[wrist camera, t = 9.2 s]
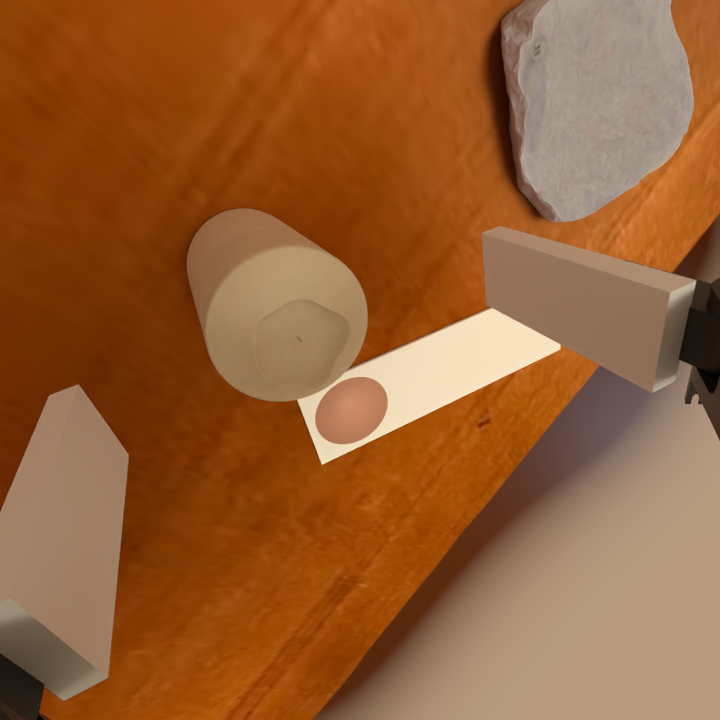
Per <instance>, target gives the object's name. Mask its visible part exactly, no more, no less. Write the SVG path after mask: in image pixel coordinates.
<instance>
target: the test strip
mask: <svg viewBox="0 0 720 720" xmlns="http://www.w3.org/2000/svg"><path fill="white" fill-rule="evenodd" d="M558 350H560V344H559V343H557V342H555V341H553V340H551V339H549V338H548V337H546V336H544V335H542V334H540V333H538V332H536V331H534V330H532V329H531V328H529V327H527V326H525V325H523V324H521V323H519V322H517V321H515V320H514V319H512V318H510V317H508V316H506V315H504V314H502V313H500V312H499V311H497V310H495V309H493V308H491V307H490V308H487V309H485V310H483V311H481V312H478V313H476V314H474V315H471V316H469V317H467V318H464V319H462V320H460V321H458V322H455V323H453V324H451V325H448V326H446V327H444V328H441V329H439V330H437V331H435V332H432V333H430V334H428V335H425V336H423V337H421V338H418V339H416V340H414V341H412V342H409V343H407V344H405V345H402V346H400V347H398V348H395V349H393V350H391V351H389V352H386V353H384V354H382V355H379V356H377V357H375V358H372V359H370V360H368V361H366V362H363V363H361V364H359V365H356V366H354V367H352V368H349V369H348V370H347V371H346V372H345V373H344V374H343V375H342V376H341V377H340V378H339V379H337V380H336V381H335V382H334V383H333V384H331V385H330V386H328V387H327V388H325V389H323V390H321V391H319V392H318V393H316V394H313V395H311V396H308V397H305V398H301V399H298V400H297V401H298V404H299V406H300V409H301V412H302V414H303V417H304V420H305V422H306V425H307V427H308V430H309V433H310V435H311V438H312V441H313V443H314V446H315V448H316V451H317V454H318V456H319V459H320V462H321V464H325V463H327V462H329V461H331V460H333V459H335V458H337V457H339V456H341V455H343V454H345V453H347V452H349V451H351V450H353V449H356V448H358V447H360V446H362V445H364V444H366V443H368V442H370V441H372V440H374V439H376V438H378V437H380V436H382V435H384V434H386V433H389V432H391V431H393V430H395V429H397V428H399V427H401V426H403V425H405V424H407V423H409V422H411V421H413V420H415V419H417V418H420V417H422V416H424V415H426V414H428V413H430V412H432V411H434V410H436V409H438V408H440V407H442V406H444V405H446V404H448V403H451V402H453V401H455V400H457V399H459V398H461V397H463V396H465V395H467V394H469V393H471V392H473V391H475V390H477V389H479V388H482V387H484V386H486V385H488V384H490V383H492V382H494V381H496V380H498V379H500V378H502V377H504V376H506V375H508V374H510V373H512V372H515V371H517V370H519V369H521V368H523V367H525V366H527V365H529V364H531V363H533V362H535V361H537V360H539V359H541V358H543V357H546V356H548V355H550V354H552V353H554V352H556V351H558Z"/></svg>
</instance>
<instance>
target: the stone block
mask: <svg viewBox="0 0 720 720" xmlns="http://www.w3.org/2000/svg"><path fill="white" fill-rule="evenodd" d="M670 6H671V0H526V1H523V2H522V3H521V4H520V5H519V6H518V7H516V8H515V9H514V10H512V11H511V12H509V13H508V14H507V15H506V16H505V17H504V18H503V20H502V21H501V48H502V56H503V60H504V71H505V80H506V90H507V94H508V97H509V114H510V124H509V131H510V137H511V141H512V149H513V158H514V163H515V167H516V177H517V185H518V189H519V190H520V191H521V192H522V193H523V194H524V195H525V196H526V198H527V199H528V200H529V201H530V202H531V203H532V205H533V206H535V208H536V209H537V210H538V212H539V213H540V214H541V216H542V217H543V218H545V219H546V220H547V221H550V222H568V221H575V220H578V219H580V218H584V217H586V216H588V215H590V214H592V213H594V212H596V211H597V210H598V209H599V208H601V207H603V206H604V205H605V204H607V203H608V202H610V201H612V200H613V199H615V198H616V197H618V196H620V195H621V194H623V193H624V192H626V191H627V190H629V189H630V188H632V187H634V186H636V185H637V184H638V183H639V181H640V180H641V179H642V178H643V177H645V176H646V175H647V174H649V173H651V172H653V171H655V170H656V169H658V168H659V167H660V166H662V165H663V164H664V163H665V162H667V161H668V159H669V158H670V157H671V156H672V155H673V154H674V152H675V151H676V150H677V149H678V147H679V146H680V144H681V142H682V139H683V135H684V134H686V132H687V131H688V126H689V122H690V118H691V115H692V112H693V107H694V97H693V91H692V81H691V78H690V68H689V65H688V60H687V55H686V52H685V50H684V47H683V45H682V43H681V42H680V39H679V37H678V35H677V33H676V30H675V27H674V24H673V20H672V16H671V9H670Z"/></svg>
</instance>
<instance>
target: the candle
mask: <svg viewBox="0 0 720 720" xmlns="http://www.w3.org/2000/svg"><path fill="white" fill-rule="evenodd" d="M187 274H188V279H189V283H190V287H191V291H192V294H193V298H194V302H195V306H196V309H197V313H198V317H199V321H200V324H201V328H202V332H203V335H204V339H205V343H206V347H207V350H208V354H209V356H210V358H211V361H212V363H213V365H214V366H215V368H216V370H217V371H218V373H219V374H220V375H221V376H222V377H223V378H224V380H226V381H227V382H228V383H229V384H230V385H231V386H232V387H234V388H235V389H237V390H238V391H240V392H242V393H244V394H246V395H248V396H251V397H254V398H257V399H261V400H266V401H277V402H279V401H291V400H298V399H301V398H305V397H308V396H311V395H313V394H316V393H318V392H319V391H321V390H323V389H325V388H327V387H328V386H330V385H331V384H333V383H334V382H335V381H336V380H337V379H339V378H340V377H341V376H342V375H343V374H344V373H345V372H346V371H347V370H348V368H349V367H350V366H351V364H352V363H353V362H354V360H355V358H356V357H357V355H358V353H359V351H360V349H361V347H362V345H363V342H364V339H365V335H366V330H367V322H368V310H367V303H366V298H365V295H364V292H363V289H362V287H361V285H360V283H359V281H358V280H357V278H356V277H355V275H354V274H353V273H352V272H351V270H350V269H349V268H348V267H347V266H346V265H345V264H343V263H342V262H341V261H340V260H339V259H337V258H336V257H334V256H333V255H331V254H330V253H328V252H327V251H325V250H324V249H322V248H321V247H319V246H318V245H316V244H315V243H313V242H312V241H310V240H309V239H307V238H306V237H304V236H303V235H301V234H300V233H298V232H297V231H295V230H294V229H292V228H291V227H289V226H288V225H286V224H285V223H283V222H282V221H280V220H279V219H277V218H275V217H274V216H272V215H270V214H268V213H265V212H262V211H259V210H255V209H246V208H240V209H232V210H228V211H224V212H222V213H220V214H217V215H215V216H214V217H212V218H210V219H209V220H208V221H207V222H205V223H204V224H203V225H202V226H201V228H200V229H199V230H198V231H197V233H196V234H195V236H194V237H193V239H192V241H191V244H190V247H189V250H188V255H187Z"/></svg>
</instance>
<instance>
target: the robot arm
mask: <svg viewBox="0 0 720 720" xmlns="http://www.w3.org/2000/svg"><path fill="white" fill-rule="evenodd" d="M482 247H483V262H484V276H485V291H486V305H487V306H489V307H491V308H493V309H495V310H497V311H499V312H500V313H502V314H504V315H506V316H508V317H510V318H512V319H514V320H515V321H517V322H519V323H521V324H523V325H525V326H527V327H529V328H531V329H532V330H534V331H536V332H538V333H540V334H542V335H544V336H546V337H548V338H549V339H551V340H553V341H555V342H557V343H559V344H561V345H563V346H564V347H566V348H568V349H570V350H572V351H574V352H576V353H578V354H580V355H581V356H583V357H585V358H587V359H589V360H591V361H593V362H595V363H597V364H598V365H600V366H602V367H604V368H606V369H608V370H610V371H612V372H614V373H615V374H617V375H619V376H621V377H623V378H625V379H627V380H629V381H631V382H632V383H634V384H636V385H638V386H640V387H642V388H644V389H646V390H648V391H649V392H651V393H653V392H655V391H657V390H659V389H661V388H662V387H664V386H666V385H668V384H670V383H672V382H674V381H675V378H676V374H677V369H678V364H679V360H681V361H684V362H686V363H688V364H690V365H692V369H691V374H690V378H689V382H688V387H687V391H686V395H685V404H690V403H691V400H692V397H693V396H694V395H695V394H698V395H699V401H698V404H703V406H704V408H705V410H706V412H707V415H708V417H709V418H710V421H711V423H712V425H713V427H714V429H715V431H716V433H717V435H718V438H719V439H720V278H719V279H716V280H715V281H714V282H713V283H712V284H710V283H706V282H703V281H699V280H696V279H692V278H688V277H685V276H681V275H677V274H674V273H670V272H667V271H663V270H658V269H656V268H652V267H648V266H647V267H646V266H644V265H641V264H638V263H634V262H630V261H627V260H621V259H618V258H614V257H610V256H607V255H603V254H600V253H596V252H592V251H589V250H585V249H581V248H578V247H574V246H571V245H567V244H563V243H560V242H556V241H553V240H549V239H545V238H542V237H538V236H535V235H531V234H527V233H524V232H520V231H516V230H513V229H509V228H506V227H502V226H499V227H496V228H494V229H491V230H488V231H486V232H483V233H482ZM128 461H129V454H128V453H127V452H126V450H125V449H124V447H123V446H122V444H121V443H120V442H119V440H118V439H117V437H116V436H115V435H114V433H113V432H112V430H111V429H110V428H109V426H108V425H107V423H106V422H105V421H104V419H103V418H102V416H101V415H100V414H99V412H98V411H97V409H96V408H95V406H94V405H93V404H92V402H91V401H90V399H89V398H88V397H87V395H86V394H85V392H84V391H83V390H82V388H81V387H80V385H79V384H78V385H75V386H73V387H70V388H67V389H65V390H62V391H59V392H57V393H54V394H51V395H49V397H48V399H47V402H46V404H45V406H44V409H43V411H42V413H41V416H40V418H39V421H38V423H37V425H36V428H35V430H34V433H33V435H32V437H31V440H30V442H29V445H28V447H27V449H26V452H25V454H24V456H23V459H22V461H21V464H20V466H19V468H18V471H17V473H16V476H15V478H14V480H13V483H12V485H11V487H10V490H9V492H8V495H7V497H6V499H5V502H4V504H3V507H2V509H1V511H0V720H50V719H48V718H47V717H45V716H44V715H42V714H40V713H39V709H40V705H41V700H42V695H43V690H44V688H46V689H47V690H49V691H50V692H52V693H53V694H54V695H56V696H57V697H59V698H60V699H62V700H63V701H65V700H67V699H69V698H71V697H72V696H74V695H76V694H78V693H80V692H82V691H84V690H86V689H88V688H90V687H92V686H93V685H95V684H97V683H99V682H101V681H103V680H105V679H107V678H108V672H109V662H110V651H111V641H112V630H113V619H114V609H115V598H116V588H117V577H118V566H119V556H120V545H121V535H122V524H123V513H124V503H125V492H126V482H127V471H128Z"/></svg>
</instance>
